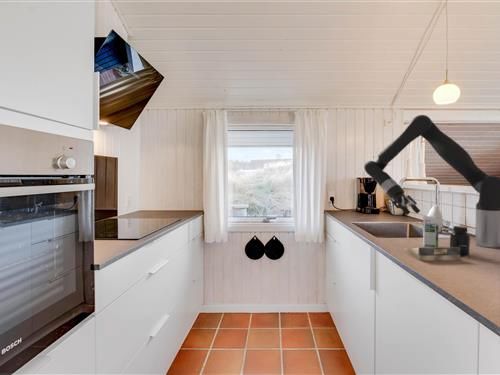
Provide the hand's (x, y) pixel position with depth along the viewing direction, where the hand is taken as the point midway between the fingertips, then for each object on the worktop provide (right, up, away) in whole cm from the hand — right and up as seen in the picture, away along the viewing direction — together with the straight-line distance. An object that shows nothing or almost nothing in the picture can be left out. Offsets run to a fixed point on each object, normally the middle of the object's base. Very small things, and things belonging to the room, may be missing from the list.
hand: (413, 212), depth 141 cm
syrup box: (+4, -16, -6) cm, 18 cm away
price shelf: (-5, -16, -21) cm, 27 cm away
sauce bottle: (+28, -14, +27) cm, 41 cm away
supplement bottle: (+9, -16, -19) cm, 26 cm away
